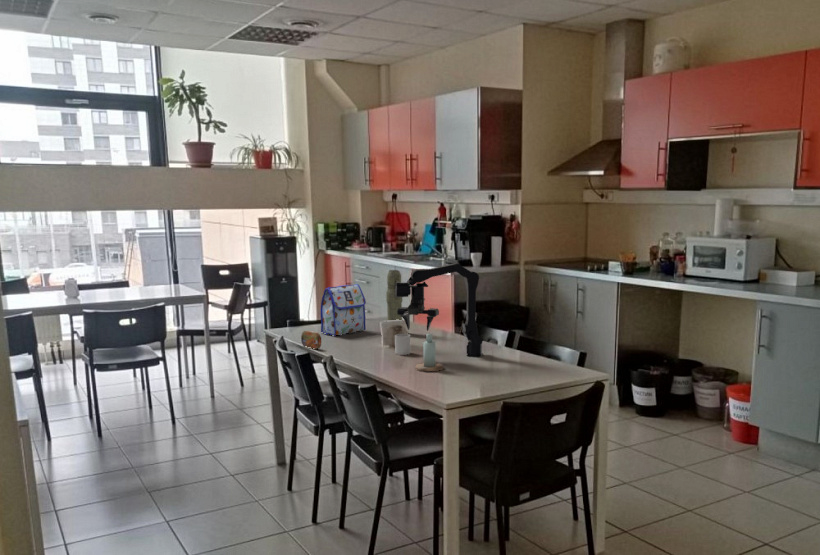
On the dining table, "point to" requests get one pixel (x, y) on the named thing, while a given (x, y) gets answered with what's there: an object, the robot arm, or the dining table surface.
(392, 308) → the thermos
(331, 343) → the dining table surface
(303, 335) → the tin
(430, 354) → the ceramic bottle
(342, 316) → the lunch bag
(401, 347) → the cup
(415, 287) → the robot arm
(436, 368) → the tan flat disc
